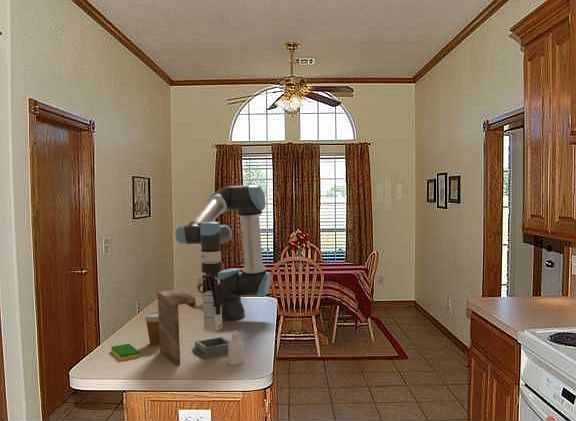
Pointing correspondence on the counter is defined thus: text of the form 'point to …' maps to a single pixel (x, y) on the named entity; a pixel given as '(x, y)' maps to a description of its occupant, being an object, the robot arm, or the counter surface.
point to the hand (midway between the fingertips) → (213, 320)
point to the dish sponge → (125, 352)
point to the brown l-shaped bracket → (171, 322)
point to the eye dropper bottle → (235, 350)
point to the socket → (211, 347)
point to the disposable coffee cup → (153, 327)
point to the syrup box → (210, 312)
